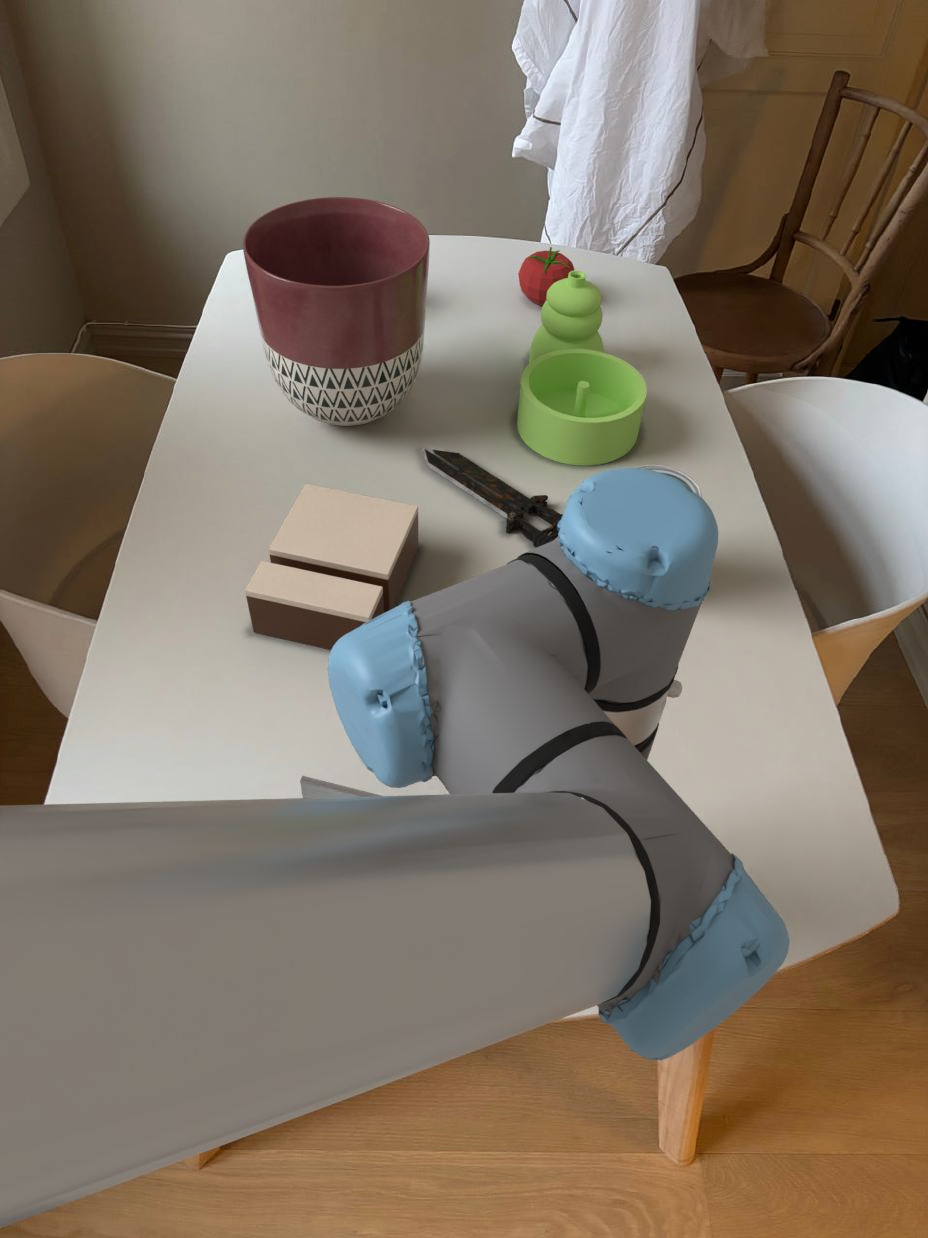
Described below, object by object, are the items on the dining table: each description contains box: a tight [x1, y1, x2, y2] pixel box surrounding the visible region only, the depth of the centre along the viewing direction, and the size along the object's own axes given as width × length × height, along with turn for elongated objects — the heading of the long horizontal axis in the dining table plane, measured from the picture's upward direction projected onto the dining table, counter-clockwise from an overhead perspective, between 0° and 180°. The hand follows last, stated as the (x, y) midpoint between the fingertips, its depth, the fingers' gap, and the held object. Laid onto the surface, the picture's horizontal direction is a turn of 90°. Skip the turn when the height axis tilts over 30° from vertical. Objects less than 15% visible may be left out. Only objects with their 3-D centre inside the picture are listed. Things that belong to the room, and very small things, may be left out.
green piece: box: [516, 269, 648, 467], centre depth 112 cm, size 25×15×13 cm, turn 2°
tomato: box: [518, 246, 575, 306], centre depth 130 cm, size 8×8×8 cm
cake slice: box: [244, 560, 384, 651], centre depth 89 cm, size 4×12×6 cm, turn 76°
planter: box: [242, 196, 431, 427], centre depth 106 cm, size 20×20×21 cm
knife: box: [421, 448, 564, 548], centre depth 103 cm, size 25×6×1 cm, turn 41°
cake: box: [268, 483, 419, 613], centre depth 94 cm, size 10×12×6 cm
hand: (551, 884), depth 73 cm, fingers closed on cake knife, 2 cm apart
